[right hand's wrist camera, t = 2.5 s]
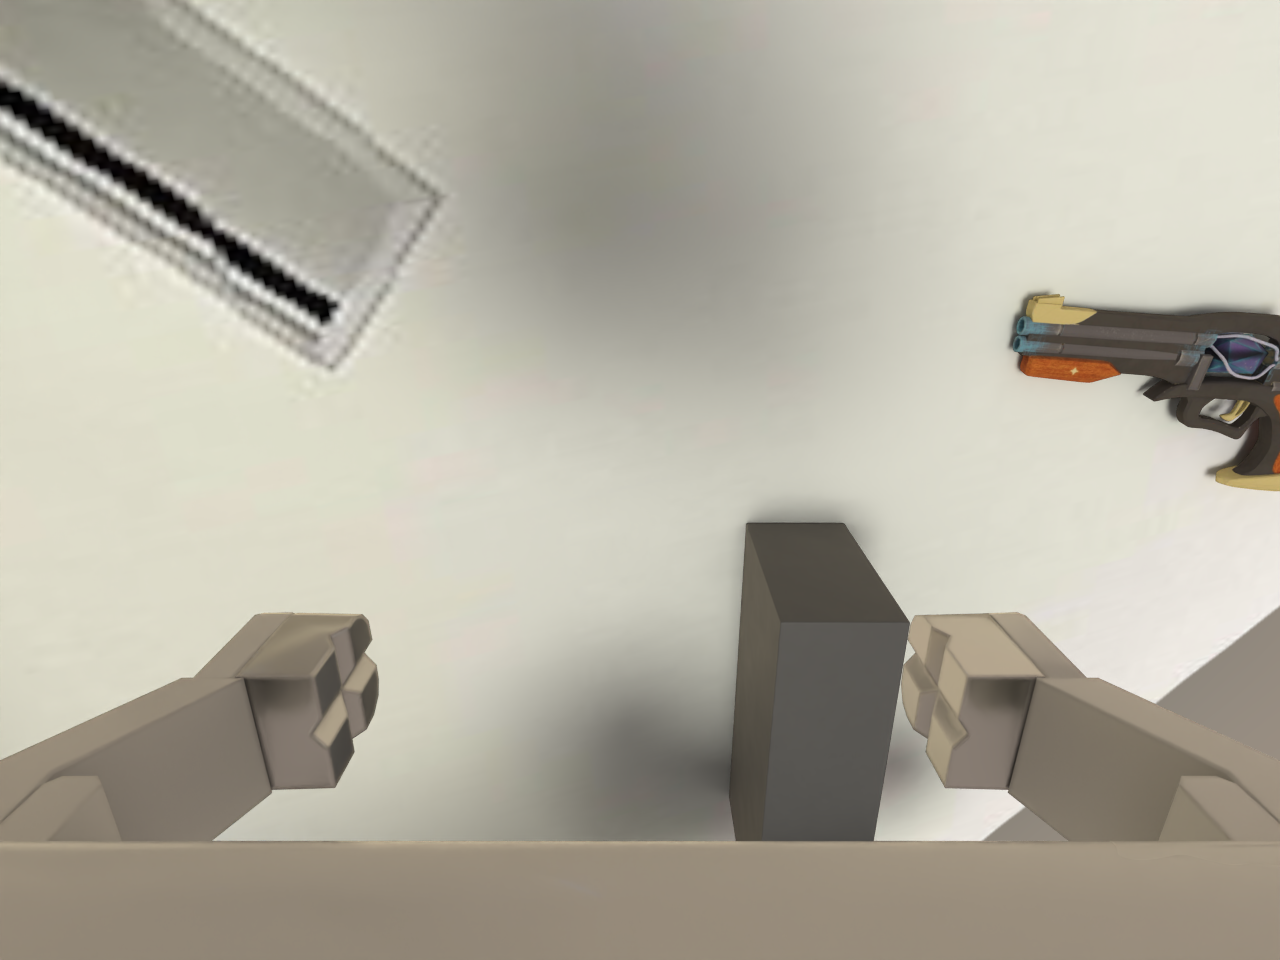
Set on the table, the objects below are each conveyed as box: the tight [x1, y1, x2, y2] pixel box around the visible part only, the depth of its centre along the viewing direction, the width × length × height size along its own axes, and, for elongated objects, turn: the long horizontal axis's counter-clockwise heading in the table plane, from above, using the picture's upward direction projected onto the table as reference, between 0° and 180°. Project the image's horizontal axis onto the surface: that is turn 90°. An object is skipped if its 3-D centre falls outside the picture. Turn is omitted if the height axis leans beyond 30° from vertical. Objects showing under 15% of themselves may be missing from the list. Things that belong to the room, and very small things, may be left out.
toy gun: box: [1013, 294, 1280, 491], centre depth 38 cm, size 3×19×10 cm
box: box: [729, 523, 910, 841], centre depth 41 cm, size 22×6×11 cm, turn 0°
